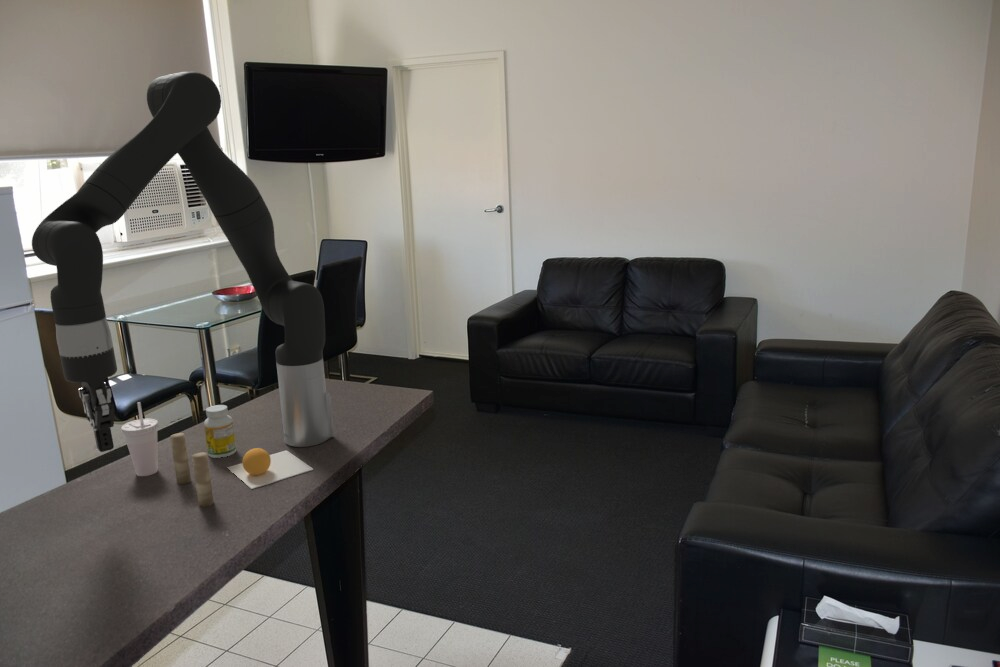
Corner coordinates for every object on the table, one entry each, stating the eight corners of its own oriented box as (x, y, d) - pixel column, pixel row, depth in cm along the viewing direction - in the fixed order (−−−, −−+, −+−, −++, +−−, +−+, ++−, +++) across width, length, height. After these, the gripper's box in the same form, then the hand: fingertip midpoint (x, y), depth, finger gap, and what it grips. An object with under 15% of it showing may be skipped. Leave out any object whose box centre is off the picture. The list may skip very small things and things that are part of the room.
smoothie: (151, 480, 139) (140, 409, 135) (120, 478, 140) (109, 407, 136) (172, 465, 145) (162, 397, 141) (143, 463, 146) (132, 395, 142)
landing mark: (286, 451, 150) (286, 450, 150) (313, 469, 141) (313, 468, 141) (227, 468, 143) (226, 467, 143) (251, 489, 134) (251, 488, 134)
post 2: (210, 499, 131) (204, 451, 128) (215, 503, 129) (209, 455, 127) (196, 503, 129) (189, 455, 127) (201, 508, 127) (194, 459, 125)
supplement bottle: (237, 455, 149) (231, 410, 146) (208, 460, 147) (202, 414, 144) (235, 446, 153) (229, 401, 151) (207, 450, 152) (201, 406, 149)
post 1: (188, 477, 140) (182, 432, 137) (192, 481, 138) (186, 435, 136) (175, 480, 138) (168, 435, 136) (179, 485, 136) (172, 439, 134)
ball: (258, 439, 142) (234, 454, 139) (268, 447, 138) (243, 462, 135) (268, 461, 144) (245, 475, 141) (279, 468, 140) (255, 483, 137)
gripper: (122, 351, 115) (141, 454, 120) (102, 335, 125) (120, 431, 130) (68, 361, 111) (89, 469, 115) (51, 344, 121) (71, 444, 125)
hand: (105, 449), depth 123 cm, fingers closed
